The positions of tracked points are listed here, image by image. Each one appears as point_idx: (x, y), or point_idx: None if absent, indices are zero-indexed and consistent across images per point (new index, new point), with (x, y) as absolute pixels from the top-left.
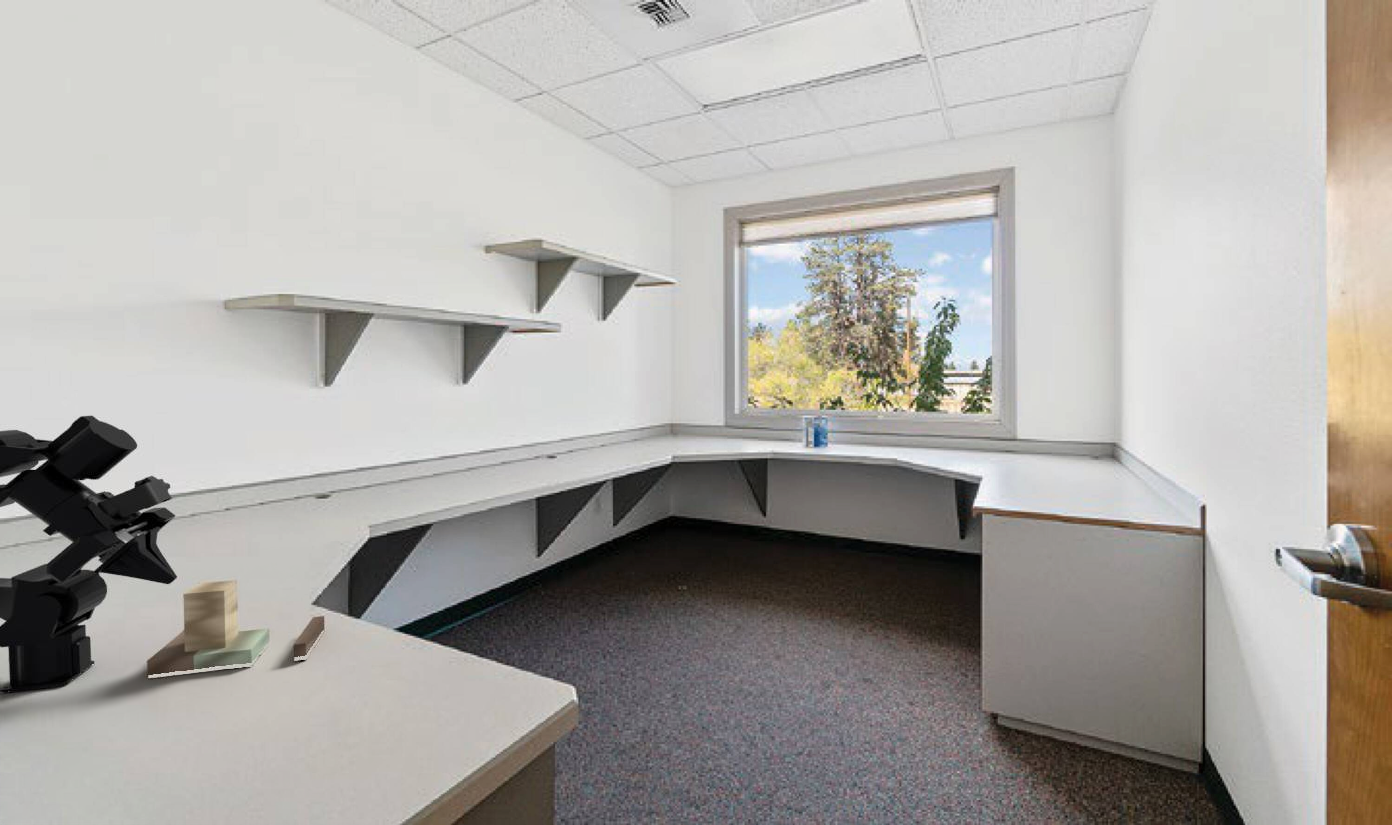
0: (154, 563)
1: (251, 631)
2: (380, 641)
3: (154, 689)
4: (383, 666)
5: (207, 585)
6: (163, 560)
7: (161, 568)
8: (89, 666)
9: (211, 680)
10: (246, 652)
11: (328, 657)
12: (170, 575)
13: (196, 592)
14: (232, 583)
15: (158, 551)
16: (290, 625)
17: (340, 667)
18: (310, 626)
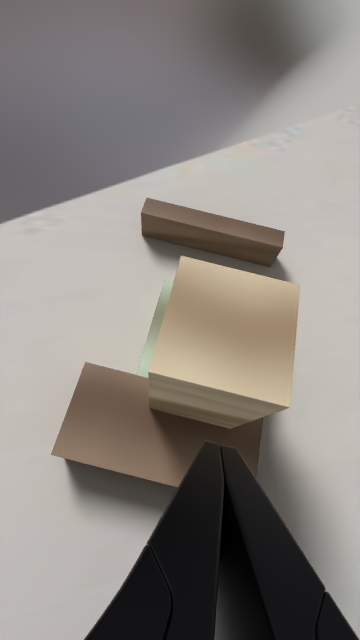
0: (320, 582)
1: (165, 309)
2: (241, 166)
3: (299, 475)
4: (337, 176)
5: (203, 338)
6: (195, 532)
7: (278, 520)
8: None
9: (296, 380)
10: None
11: (273, 226)
12: (245, 465)
13: (290, 364)
14: (221, 266)
15: (149, 619)
16: (69, 265)
17: (320, 217)
18: (197, 220)
